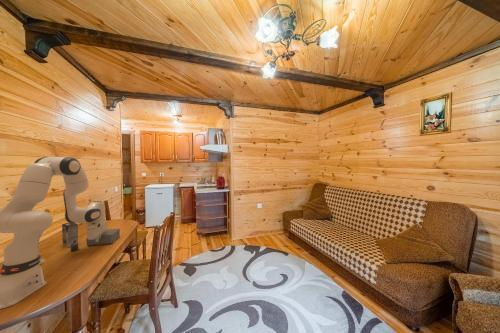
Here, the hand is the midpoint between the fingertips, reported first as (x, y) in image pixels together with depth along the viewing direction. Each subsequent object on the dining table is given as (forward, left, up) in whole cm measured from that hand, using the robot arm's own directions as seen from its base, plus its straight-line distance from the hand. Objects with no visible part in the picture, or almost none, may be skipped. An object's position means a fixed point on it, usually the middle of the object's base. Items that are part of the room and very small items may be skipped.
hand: (98, 240), depth 139 cm
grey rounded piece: (-3, +13, -4) cm, 14 cm away
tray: (+9, 0, -3) cm, 9 cm away
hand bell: (-18, +25, -5) cm, 31 cm away
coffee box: (+8, +22, -5) cm, 24 cm away
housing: (+10, 0, -4) cm, 11 cm away
